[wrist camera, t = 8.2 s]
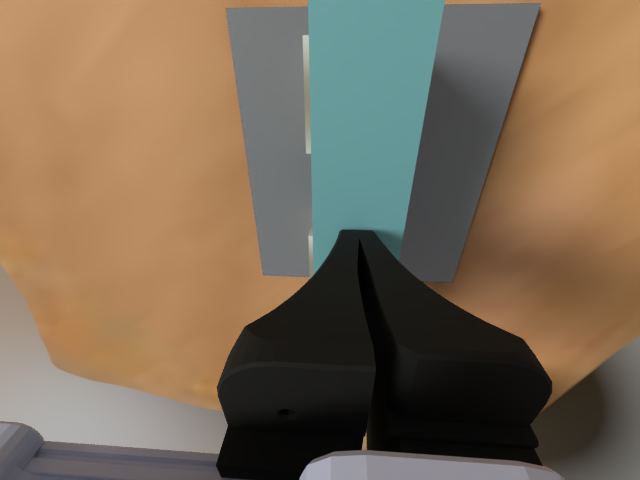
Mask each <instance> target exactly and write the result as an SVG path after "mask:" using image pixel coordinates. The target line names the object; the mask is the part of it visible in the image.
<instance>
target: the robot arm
mask: <svg viewBox="0 0 640 480" xmlns="http://www.w3.org/2000/svg"><path fill="white" fill-rule="evenodd" d="M217 392H218V398H219V401H220V403H221V406H222V409H223V412H224V415H225V418H226V421H227V424H228V428H227V431H226V434H225V438H224V441H223V444H222V447H221V450H220V453H219V454H212V453H198V452H185V451H172V450H159V449H145V448H132V447H119V446H105V445H92V444H91V445H90V444H78V443H65V442H51V441H44V439H43V437H42V436H41V435H40V433H39V432H37V431H36V430H35V429H33V428H32V427H30V426H27V425H25V424H22V423H15V422H3V421H0V480H565V479H564V478H563V477H561V476H560V475H559V474H558V473H556V472H554V471H553V470H551V469H549V468H547V467H544V466H542V463H541V461H540V459H539V457H538V455H537V453H536V451H535V449H534V448H537V447H538V446H539V444H538V440H537V437H536V436H535V434H534V432H533V430H532V428H531V426H530V424H531V423H532V422H533V420H534V419H535V418H536V417H537V415H538V414H539V413H540V411H541V410H542V409H543V407H544V406H545V405H546V403H547V401H548V399H549V397H550V395H551V393H552V381H551V380H550V378H549V376H548V375H547V373H546V371H545V370H544V368H543V367H542V365H541V364H540V362H539V361H538V359H537V357H536V356H535V354H534V353H533V352H532V350H531V349H530V348H529V346H528V345H527V344H526V342H525V341H524V340H523V339H522V338H520V337H518V336H516V335H513V334H511V333H509V332H507V331H505V330H503V329H500V328H498V327H496V326H494V325H492V324H490V323H487V322H485V321H483V320H481V319H480V318H478V317H476V316H474V315H472V314H470V313H468V312H467V311H465V310H463V309H461V308H460V307H458V306H456V305H455V304H453V303H451V302H450V301H448V300H447V299H445V298H444V297H442V296H441V295H439V294H438V293H436V292H435V291H433V290H432V289H430V288H429V287H428V286H426V285H425V284H424V283H423V282H421V281H420V280H419V279H418V278H416V277H415V276H414V275H413V274H412V273H411V272H409V271H408V270H407V269H406V268H405V267H404V266H403V265H402V264H401V263H400V262H399V261H398V260H397V259H396V258H395V256H394V255H393V254H392V253H391V252H390V251H389V250H388V249H387V247H386V246H385V245H384V244H383V242H382V241H381V240H380V239H379V237H378V236H377V235H376V233H375V232H374V231H373V230H344V229H342V230H341V231H339V235H338V238H337V240H336V242H335V244H334V246H333V248H332V250H331V251H330V253H329V255H328V256H327V258H326V259H325V261H324V262H323V263H322V265H321V266H320V268H319V269H318V270H317V271H316V273H315V274H314V275H313V276H312V277H311V278H310V279H309V280H308V282H307V283H306V284H305V285H303V286H302V287H301V288H300V289H299V290H298V291H297V292H296V293H295V294H294V295H293V296H291V297H290V298H289V299H288V300H286V301H285V302H284V303H282V304H281V305H280V306H278V307H277V308H276V309H274V310H273V311H271V312H269V313H268V314H266V315H264V316H263V317H261V318H259V319H257V320H256V321H254V322H252V323H250V324H249V325H247V326H245V327H244V329H243V331H242V332H241V334H240V336H239V337H238V339H237V341H236V343H235V345H234V346H233V348H232V350H231V352H230V354H229V356H228V359H227V361H226V364H225V367H224V369H223V372H222V375H221V378H220V380H219V383H218V386H217ZM366 433H367V450H362V444H363V437H364V436H365V434H366Z"/></svg>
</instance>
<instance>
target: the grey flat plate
mask: <svg viewBox="0 0 640 480" xmlns="http://www.w3.org/2000/svg"><path fill="white" fill-rule="evenodd" d="M540 5H541V3H512V4H448V5H444V8H443V14H442V20H441V25H440V31H439V37H438V42H437V48H436V54H435V59H434V65H433V71H432V76H431V82H430V87H429V93H428V99H427V104H426V110H425V116H424V121H423V127H422V133H421V138H420V144H419V150H418V155H417V161H416V167H415V172H414V178H413V184H412V189H411V195H410V200H409V206H408V212H407V217H406V223H405V229H404V234H403V240H402V246H401V251H400V257H399V262H400V263H401V264H402V265H403V266H404V267H405V268H406V269H407V270H408V271H409V272H411V273H412V274H413V275H414V276H415V277H416V278H418V279H419V280H420V281H426V282H452V283H453V280H454V277H455V273H456V270H457V267H458V264H459V261H460V258H461V254H462V251H463V248H464V245H465V242H466V239H467V236H468V232H469V229H470V226H471V223H472V220H473V217H474V213H475V210H476V207H477V204H478V201H479V198H480V194H481V191H482V188H483V185H484V182H485V179H486V175H487V172H488V169H489V166H490V163H491V160H492V156H493V153H494V150H495V147H496V144H497V141H498V137H499V134H500V131H501V128H502V125H503V122H504V118H505V115H506V112H507V109H508V106H509V103H510V99H511V96H512V93H513V90H514V87H515V84H516V81H517V77H518V74H519V71H520V68H521V65H522V62H523V58H524V55H525V52H526V49H527V46H528V43H529V39H530V36H531V33H532V30H533V27H534V24H535V20H536V17H537V14H538V11H539V8H540ZM226 14H227V21H228V28H229V35H230V42H231V50H232V57H233V64H234V71H235V78H236V85H237V93H238V100H239V107H240V114H241V121H242V128H243V136H244V143H245V150H246V157H247V164H248V171H249V178H250V186H251V193H252V200H253V207H254V214H255V221H256V229H257V236H258V243H259V250H260V257H261V264H262V272H263V275H269V276H295V277H310V274H309V239H308V235H309V230H310V225H311V220H312V176H311V154H306V137H305V102H304V68H303V35H309V23H308V7H259V8H226Z"/></svg>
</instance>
